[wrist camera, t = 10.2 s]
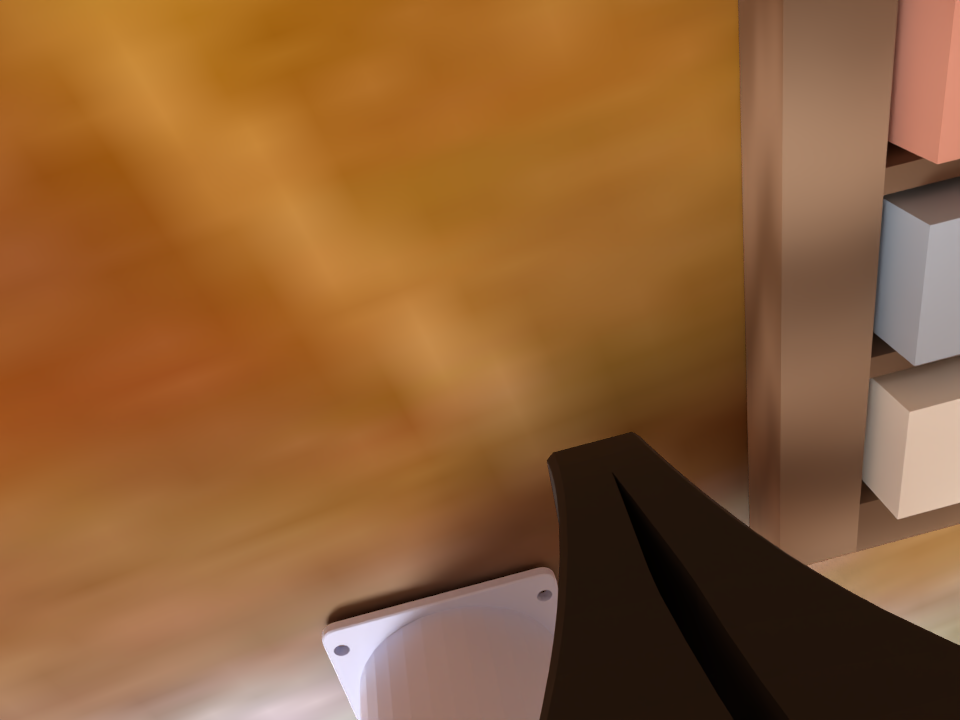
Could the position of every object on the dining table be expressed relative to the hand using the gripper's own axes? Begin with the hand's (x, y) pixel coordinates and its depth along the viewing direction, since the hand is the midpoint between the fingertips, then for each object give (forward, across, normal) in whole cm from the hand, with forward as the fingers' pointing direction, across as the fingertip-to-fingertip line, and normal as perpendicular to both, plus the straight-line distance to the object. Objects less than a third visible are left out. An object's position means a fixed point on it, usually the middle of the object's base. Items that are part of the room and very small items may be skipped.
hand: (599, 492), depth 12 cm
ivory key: (+10, -12, +9) cm, 18 cm away
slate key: (+10, -12, +3) cm, 16 cm away
